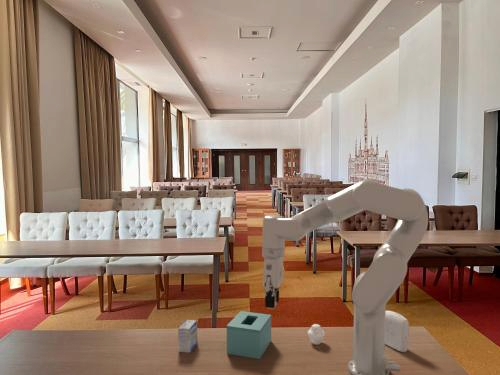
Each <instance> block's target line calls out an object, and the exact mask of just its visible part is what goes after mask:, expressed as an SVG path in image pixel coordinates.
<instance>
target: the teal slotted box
mask: <svg viewBox="0 0 500 375" xmlns="http://www.w3.org/2000/svg"><path fill="white" fill-rule="evenodd" d="M271 342H272V314H269V313H268V314H266V313H260V312H259V313H258V312H254V311H253V312H251V311H243V310H240V311H239V312H238V313H237V314H236V315H235V316H234V318H232V319H231V321H230V322H228V324H227V325H226V355H233V356H237V357H245V358H250V359H257V360H260V359H261V358H262V357H263V355H264V353H265V352H266V351H267V349H268V347H269V346H268V345H270V344H271ZM269 343H270V344H269ZM267 346H268V347H267ZM266 348H267V349H266Z"/></svg>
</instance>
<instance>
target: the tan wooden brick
mask: <svg viewBox="0 0 500 375" xmlns="http://www.w3.org/2000/svg"><path fill="white" fill-rule="evenodd" d="M270 290H271V291H272V289H270ZM274 296H275V307H274V308H269V307H266V308H267V310H274V309H275V308H276V306H277V305H278V302H277V290H274Z"/></svg>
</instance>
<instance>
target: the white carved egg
mask: <svg viewBox="0 0 500 375" xmlns="http://www.w3.org/2000/svg"><path fill="white" fill-rule="evenodd" d="M307 335H308V338H309V340H310V342H311V344H313V345H317V346H318V345H320V344H321V343H322V342H323V340H324V338H325V335H326V332H325V331H324V329H323V328H322V326H321V325H320V324H319V323H314V324H312V325H311V327H310V329H309V330H307Z"/></svg>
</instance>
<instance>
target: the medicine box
mask: <svg viewBox="0 0 500 375" xmlns="http://www.w3.org/2000/svg"><path fill="white" fill-rule="evenodd" d="M177 335H178V336H177V338H178V340H177V341H178V352H179V353H189V354H191V352H192V351H193V349H194V348H195V346H196V345H197V344H198V320H196V319H195V320H194V319H186V320H184V322H183V323H182V324H181V325H180V326H179V327H178V328H177Z"/></svg>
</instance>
